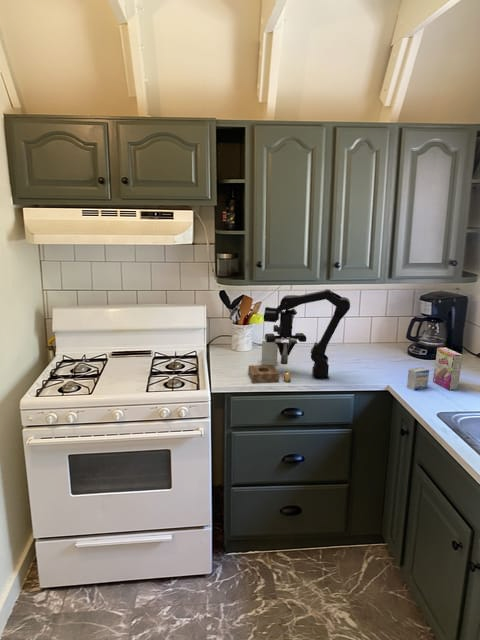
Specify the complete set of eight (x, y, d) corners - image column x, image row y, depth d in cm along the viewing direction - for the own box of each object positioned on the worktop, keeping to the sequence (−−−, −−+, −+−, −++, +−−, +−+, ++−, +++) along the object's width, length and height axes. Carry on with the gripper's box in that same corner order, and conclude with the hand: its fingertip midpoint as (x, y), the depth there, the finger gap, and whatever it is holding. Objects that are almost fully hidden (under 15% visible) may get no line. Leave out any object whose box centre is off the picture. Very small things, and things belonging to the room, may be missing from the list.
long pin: (286, 362, 224) (287, 342, 221) (288, 364, 221) (289, 344, 218) (280, 362, 223) (281, 342, 221) (281, 364, 220) (282, 344, 218)
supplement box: (275, 366, 233) (276, 341, 230) (261, 364, 234) (261, 340, 231) (277, 361, 240) (278, 337, 237) (263, 360, 241) (264, 336, 238)
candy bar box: (432, 381, 216) (436, 347, 212) (441, 380, 218) (445, 346, 214) (448, 390, 206) (453, 355, 202) (458, 389, 207) (463, 354, 203)
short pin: (289, 379, 215) (290, 371, 214) (291, 382, 212) (291, 373, 211) (282, 379, 215) (283, 371, 214) (284, 382, 212) (284, 374, 211)
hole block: (273, 372, 223) (273, 364, 222) (278, 382, 212) (279, 373, 211) (248, 373, 222) (248, 365, 221) (252, 383, 210) (252, 374, 209)
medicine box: (413, 390, 205) (415, 372, 203) (406, 387, 209) (408, 368, 207) (427, 388, 208) (429, 369, 206) (420, 384, 212) (422, 366, 210)
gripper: (301, 318, 226) (299, 349, 230) (262, 319, 224) (261, 350, 227) (307, 324, 216) (305, 356, 219) (267, 325, 213) (266, 357, 217)
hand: (284, 355), depth 221 cm, fingers closed on long pin, 3 cm apart
